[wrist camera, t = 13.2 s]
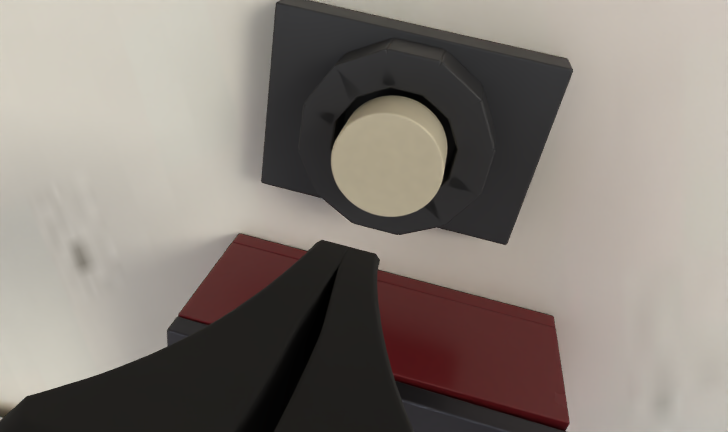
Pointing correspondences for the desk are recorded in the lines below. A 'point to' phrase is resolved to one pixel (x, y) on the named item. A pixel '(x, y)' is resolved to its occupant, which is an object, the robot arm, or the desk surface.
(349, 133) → the button
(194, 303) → the dark red open box
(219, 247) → the desk surface
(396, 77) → the control block
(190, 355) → the robot arm
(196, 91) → the desk surface
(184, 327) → the dark grey box lid
